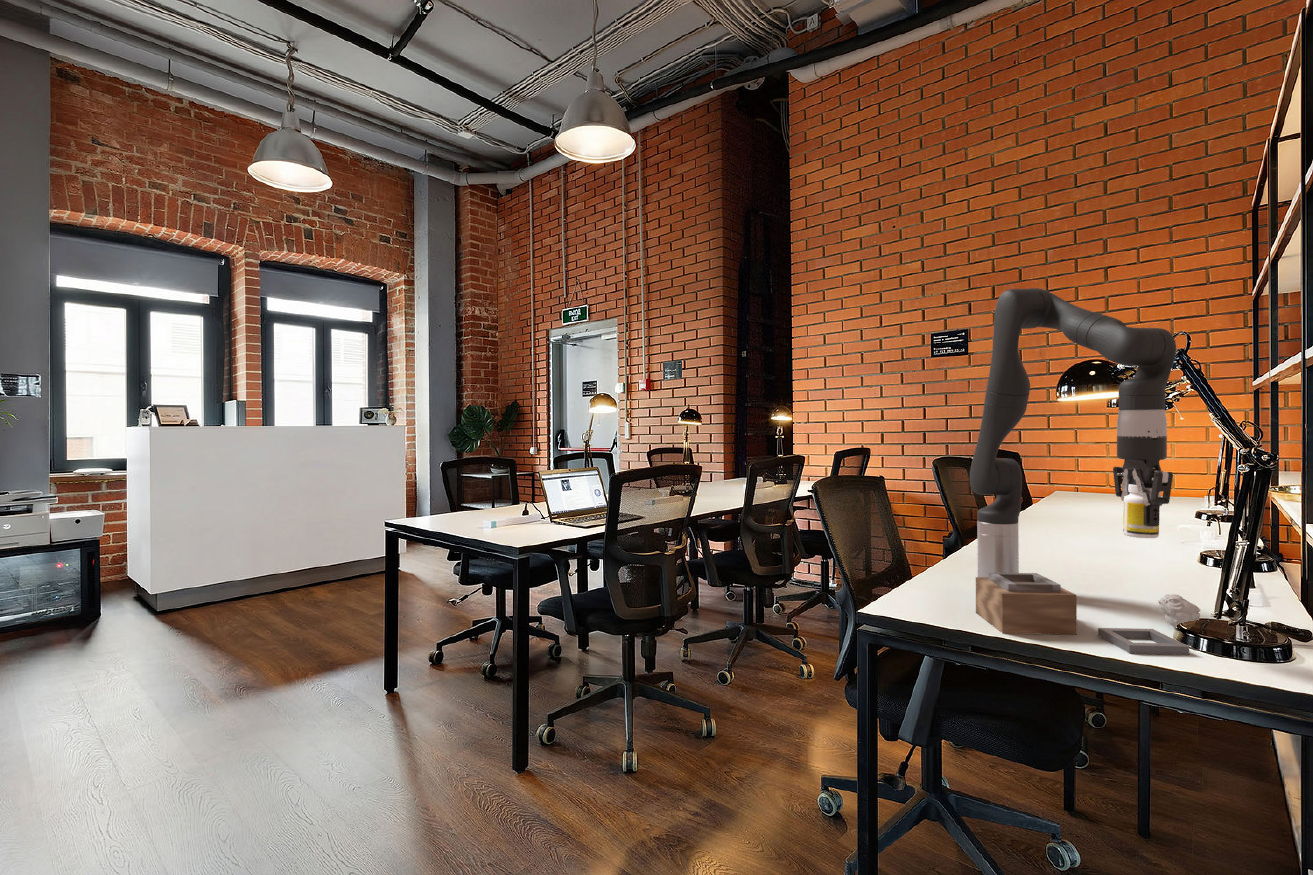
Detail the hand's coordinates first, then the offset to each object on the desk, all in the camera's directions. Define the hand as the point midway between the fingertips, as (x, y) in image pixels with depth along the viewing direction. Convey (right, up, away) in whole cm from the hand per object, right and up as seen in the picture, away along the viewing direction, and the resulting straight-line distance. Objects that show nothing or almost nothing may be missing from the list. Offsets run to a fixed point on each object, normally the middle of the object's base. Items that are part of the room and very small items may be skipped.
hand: (1141, 523), depth 120 cm
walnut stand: (-14, -23, +14) cm, 31 cm away
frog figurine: (+14, -23, +9) cm, 29 cm away
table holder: (0, -23, 0) cm, 23 cm away
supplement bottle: (0, -3, 0) cm, 3 cm away
